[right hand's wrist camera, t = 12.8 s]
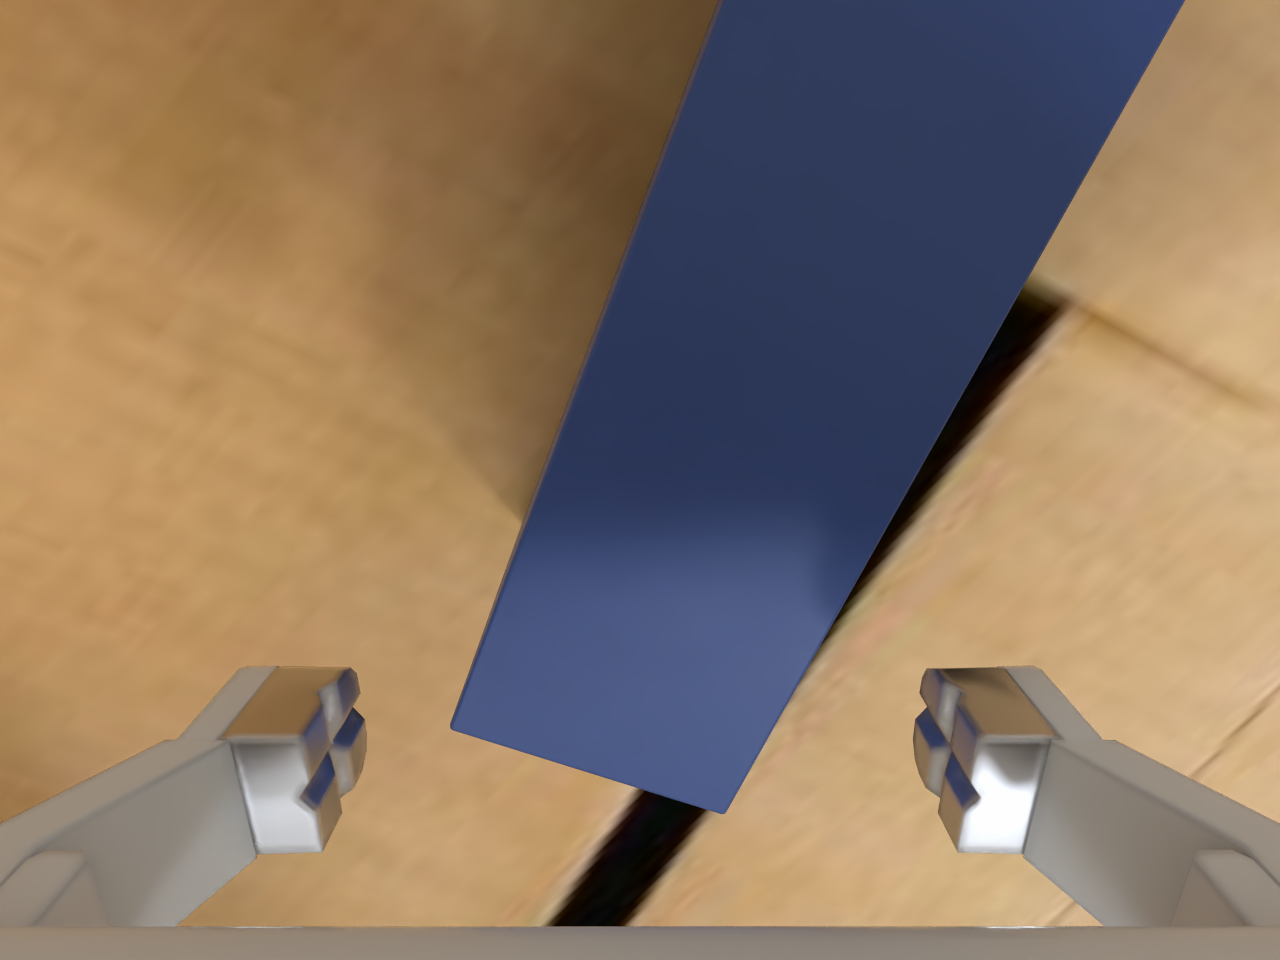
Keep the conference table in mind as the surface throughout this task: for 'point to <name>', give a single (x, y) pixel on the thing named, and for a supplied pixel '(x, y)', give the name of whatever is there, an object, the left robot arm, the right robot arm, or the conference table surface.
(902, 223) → the bar
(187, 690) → the conference table surface
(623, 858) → the conference table surface
